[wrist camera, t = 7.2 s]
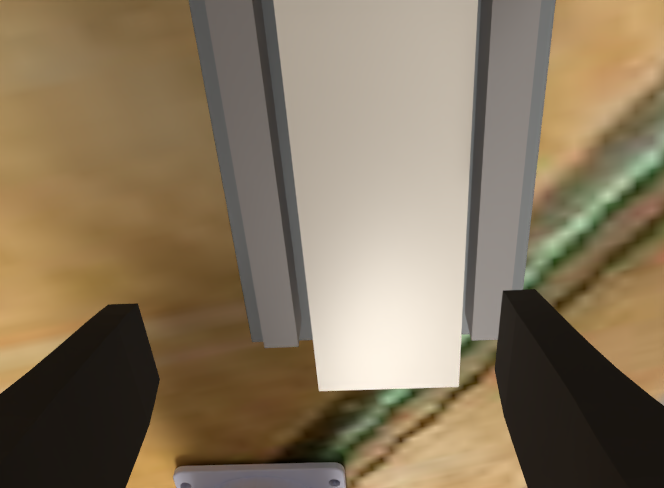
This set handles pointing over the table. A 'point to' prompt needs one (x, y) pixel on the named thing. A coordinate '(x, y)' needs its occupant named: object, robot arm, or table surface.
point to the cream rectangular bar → (381, 182)
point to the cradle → (277, 170)
